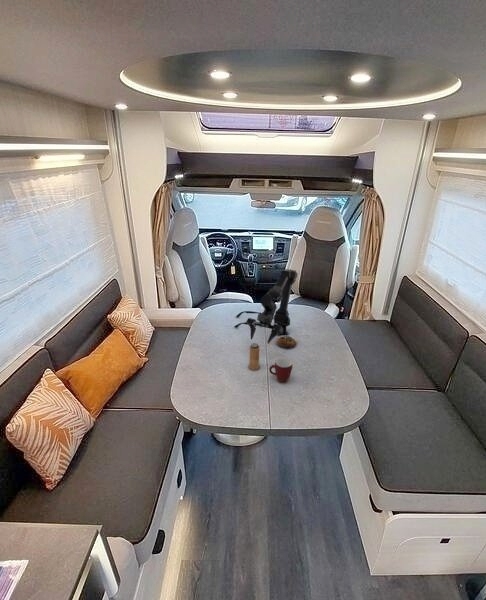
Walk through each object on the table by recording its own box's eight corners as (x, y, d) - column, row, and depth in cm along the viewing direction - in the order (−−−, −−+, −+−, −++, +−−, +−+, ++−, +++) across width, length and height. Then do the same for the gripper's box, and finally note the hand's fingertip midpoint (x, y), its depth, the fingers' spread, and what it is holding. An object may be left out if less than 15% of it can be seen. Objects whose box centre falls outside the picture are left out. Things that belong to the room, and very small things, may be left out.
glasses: (262, 330, 194) (263, 323, 192) (234, 328, 193) (234, 321, 191) (262, 318, 209) (263, 311, 207) (236, 316, 209) (236, 309, 207)
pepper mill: (248, 365, 158) (248, 342, 153) (257, 364, 159) (258, 342, 154) (250, 370, 154) (250, 348, 149) (259, 369, 155) (260, 347, 150)
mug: (268, 384, 145) (269, 366, 141) (269, 374, 152) (269, 356, 148) (291, 386, 144) (293, 368, 140) (290, 375, 151) (292, 357, 147)
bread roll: (282, 350, 171) (282, 341, 170) (273, 342, 181) (273, 334, 180) (299, 347, 176) (300, 338, 174) (290, 340, 186) (290, 332, 184)
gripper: (248, 303, 158) (237, 332, 153) (282, 310, 151) (273, 341, 146) (254, 311, 168) (244, 338, 163) (286, 319, 161) (278, 347, 156)
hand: (259, 341), depth 157 cm, fingers open, 9 cm apart
